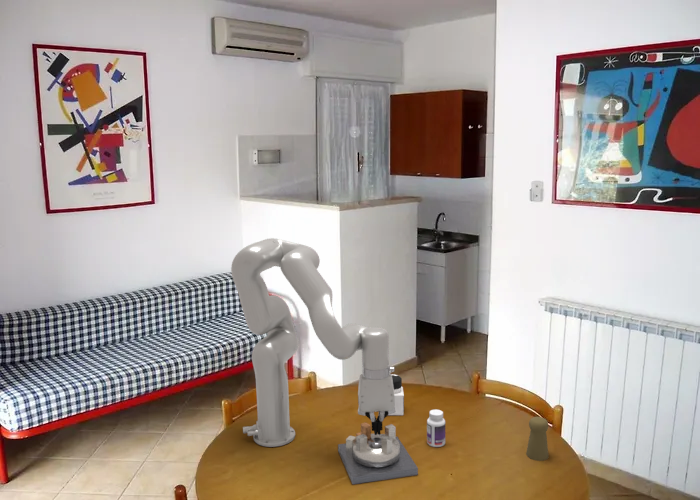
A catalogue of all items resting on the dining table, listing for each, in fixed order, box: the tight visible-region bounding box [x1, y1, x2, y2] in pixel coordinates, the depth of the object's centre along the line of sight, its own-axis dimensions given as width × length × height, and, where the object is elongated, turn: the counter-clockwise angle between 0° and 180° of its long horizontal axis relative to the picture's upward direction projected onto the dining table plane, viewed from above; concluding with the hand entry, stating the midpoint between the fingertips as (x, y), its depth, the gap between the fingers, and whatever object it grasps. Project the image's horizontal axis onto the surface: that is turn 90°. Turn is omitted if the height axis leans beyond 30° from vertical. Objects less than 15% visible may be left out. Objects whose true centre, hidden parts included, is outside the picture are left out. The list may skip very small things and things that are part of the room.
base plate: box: [337, 435, 419, 485], centre depth 168 cm, size 18×18×6 cm
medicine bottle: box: [387, 373, 405, 416], centre depth 199 cm, size 7×7×12 cm
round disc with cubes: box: [353, 422, 400, 467], centre depth 168 cm, size 15×13×7 cm
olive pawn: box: [525, 416, 550, 462], centre depth 170 cm, size 6×6×11 cm
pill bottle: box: [426, 409, 446, 448], centre depth 178 cm, size 5×5×10 cm
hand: (377, 432), depth 172 cm, fingers closed
